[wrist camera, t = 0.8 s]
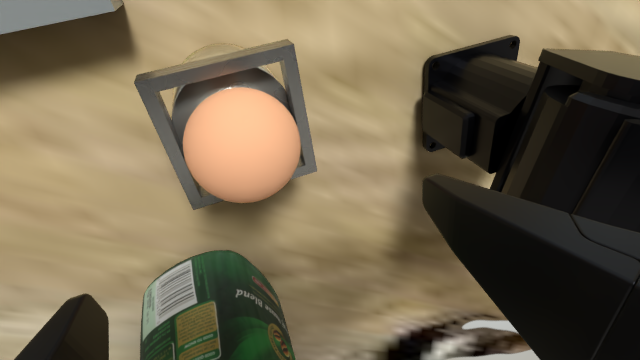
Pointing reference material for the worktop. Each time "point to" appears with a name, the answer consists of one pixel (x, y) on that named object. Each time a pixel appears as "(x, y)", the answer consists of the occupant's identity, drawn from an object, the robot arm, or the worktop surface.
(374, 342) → the worktop surface
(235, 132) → the ball
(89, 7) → the tray
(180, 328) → the coffee jar
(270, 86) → the hollow square frame
